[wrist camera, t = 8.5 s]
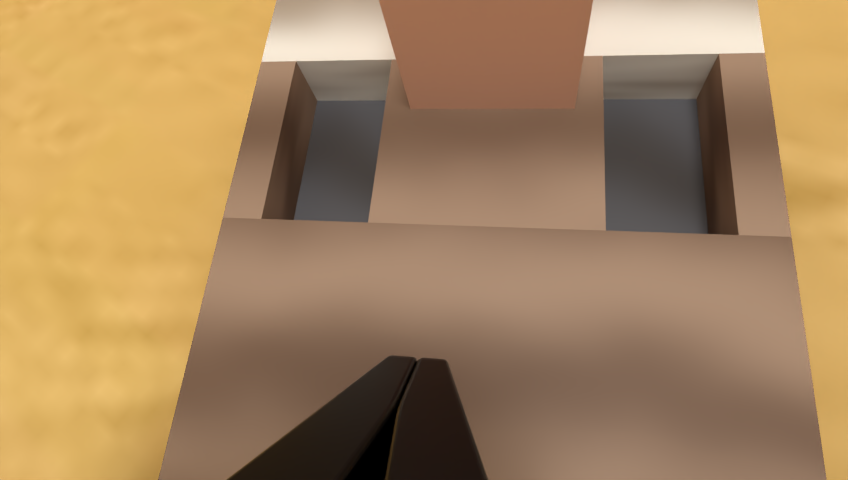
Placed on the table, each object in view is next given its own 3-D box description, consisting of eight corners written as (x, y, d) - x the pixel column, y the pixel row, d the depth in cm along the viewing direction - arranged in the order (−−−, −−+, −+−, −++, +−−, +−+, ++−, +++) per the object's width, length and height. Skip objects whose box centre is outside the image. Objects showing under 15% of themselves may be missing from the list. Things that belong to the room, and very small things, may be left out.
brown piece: (795, 630, 16) (941, 716, 11) (192, 543, 19) (65, 574, 14) (718, -29, 25) (776, -169, 20) (314, -13, 28) (265, -128, 23)
